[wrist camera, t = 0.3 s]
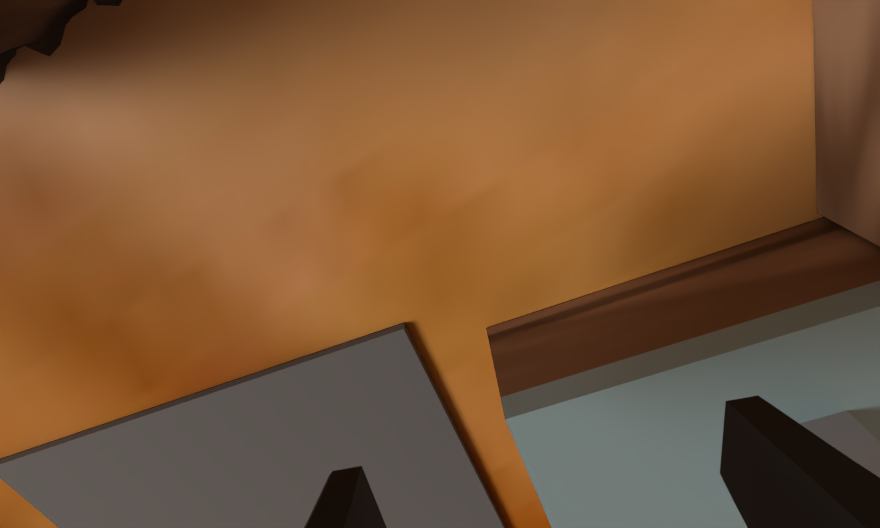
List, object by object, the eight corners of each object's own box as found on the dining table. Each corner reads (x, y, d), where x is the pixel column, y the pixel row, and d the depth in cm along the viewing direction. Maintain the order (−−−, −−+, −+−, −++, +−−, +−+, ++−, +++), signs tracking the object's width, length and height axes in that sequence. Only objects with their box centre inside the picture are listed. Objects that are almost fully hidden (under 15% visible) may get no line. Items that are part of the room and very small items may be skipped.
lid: (1022, 476, 20) (1193, 612, 16) (581, 586, 22) (621, 732, 18) (1092, 214, 15) (1384, 309, 10) (500, 397, 17) (530, 538, 13)
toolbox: (931, 404, 24) (1049, 498, 19) (558, 506, 26) (587, 611, 21) (997, -119, 14) (1263, -172, 10) (400, 117, 16) (394, 162, 12)
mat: (511, 538, 27) (512, 545, 27) (186, 625, 30) (183, 633, 29) (403, 322, 20) (403, 328, 20) (-5, 460, 23) (-12, 468, 22)
